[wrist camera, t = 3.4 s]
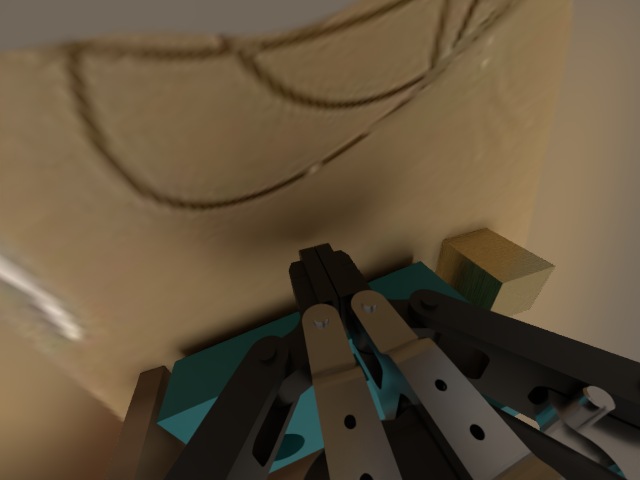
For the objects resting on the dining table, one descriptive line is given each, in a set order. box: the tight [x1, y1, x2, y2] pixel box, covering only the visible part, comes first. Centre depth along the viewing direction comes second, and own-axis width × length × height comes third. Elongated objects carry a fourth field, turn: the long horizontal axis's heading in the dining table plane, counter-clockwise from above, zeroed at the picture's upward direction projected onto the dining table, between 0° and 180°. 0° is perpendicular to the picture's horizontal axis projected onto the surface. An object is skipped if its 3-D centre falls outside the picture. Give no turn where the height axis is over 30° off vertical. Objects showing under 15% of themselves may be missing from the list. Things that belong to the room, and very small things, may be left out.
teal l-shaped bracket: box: [157, 261, 519, 473], centre depth 16 cm, size 18×11×10 cm, turn 105°
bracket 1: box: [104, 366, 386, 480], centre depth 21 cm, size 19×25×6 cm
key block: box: [435, 228, 555, 317], centre depth 17 cm, size 4×4×5 cm
